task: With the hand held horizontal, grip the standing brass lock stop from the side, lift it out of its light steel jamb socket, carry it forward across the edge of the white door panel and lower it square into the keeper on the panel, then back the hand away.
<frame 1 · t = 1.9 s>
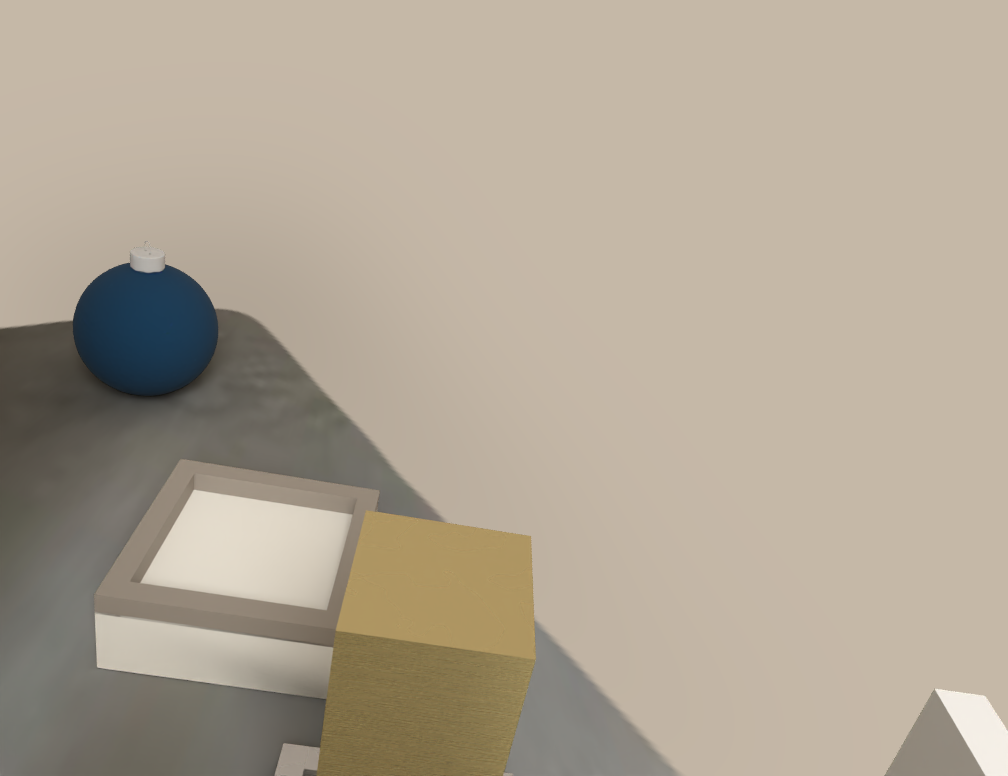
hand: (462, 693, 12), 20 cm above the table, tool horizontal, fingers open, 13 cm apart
lock stop: (408, 751, 26), in the jamb socket
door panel: (250, 602, 40), on the table
christmas ornament: (147, 389, 55), on the table
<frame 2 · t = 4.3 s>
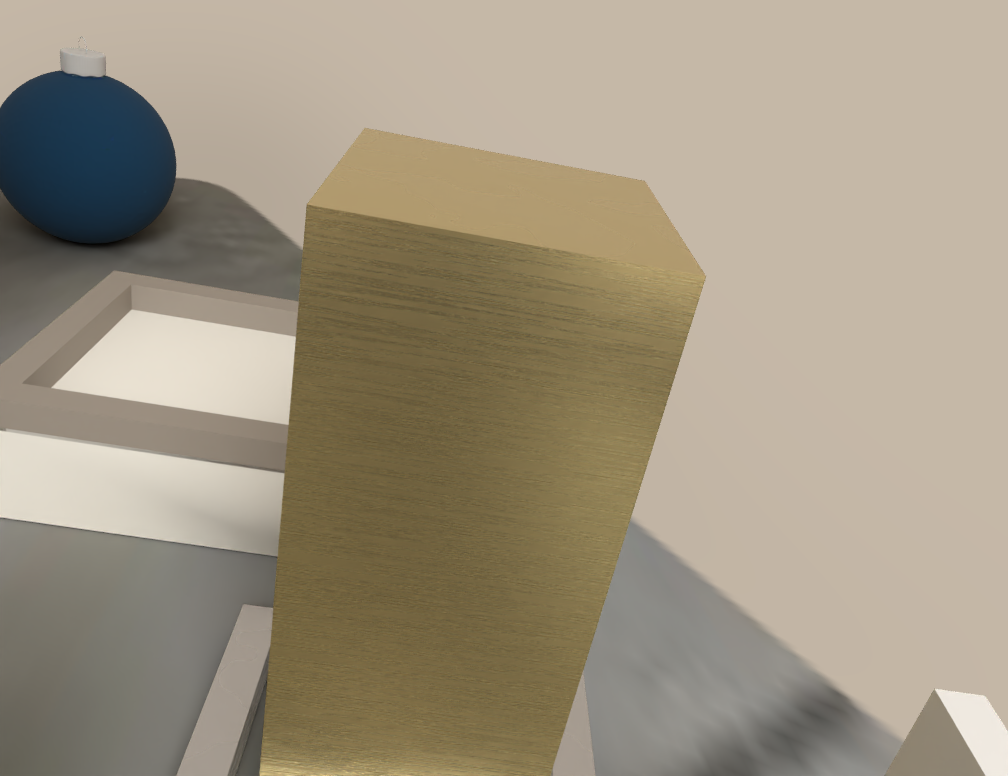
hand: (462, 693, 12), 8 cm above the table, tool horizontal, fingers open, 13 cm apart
lock stop: (438, 558, 16), in the jamb socket
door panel: (205, 450, 30), on the table
christmas ornament: (90, 242, 45), on the table
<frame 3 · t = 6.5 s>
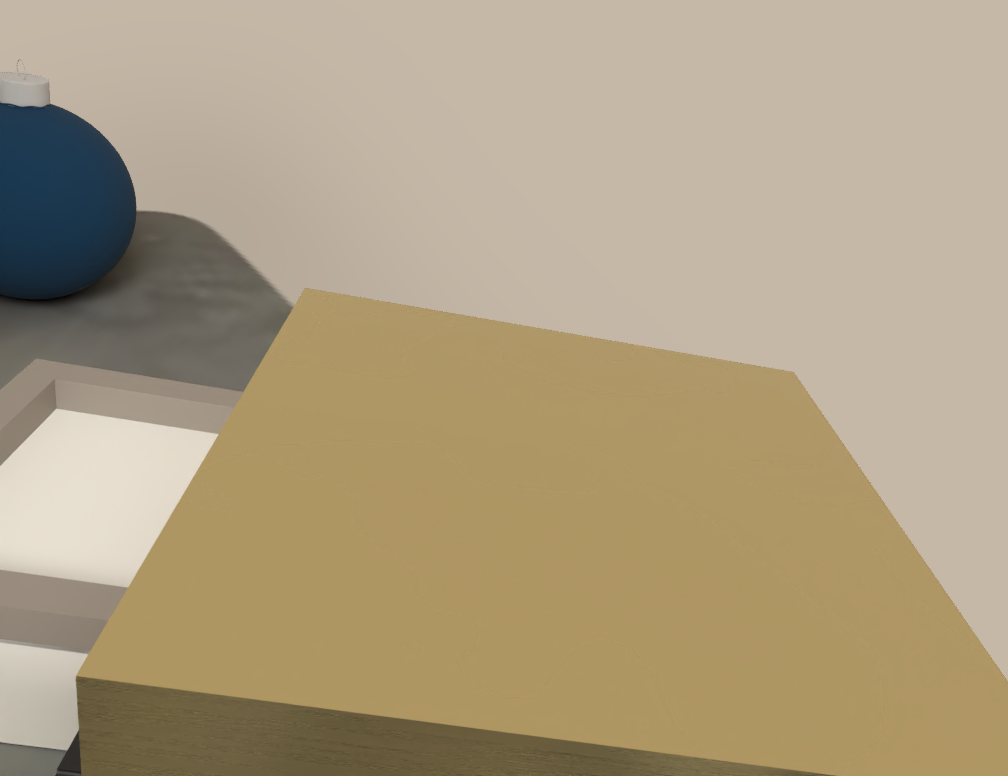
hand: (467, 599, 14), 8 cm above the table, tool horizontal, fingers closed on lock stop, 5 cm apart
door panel: (143, 596, 23), on the table
christmas ornament: (36, 295, 38), on the table
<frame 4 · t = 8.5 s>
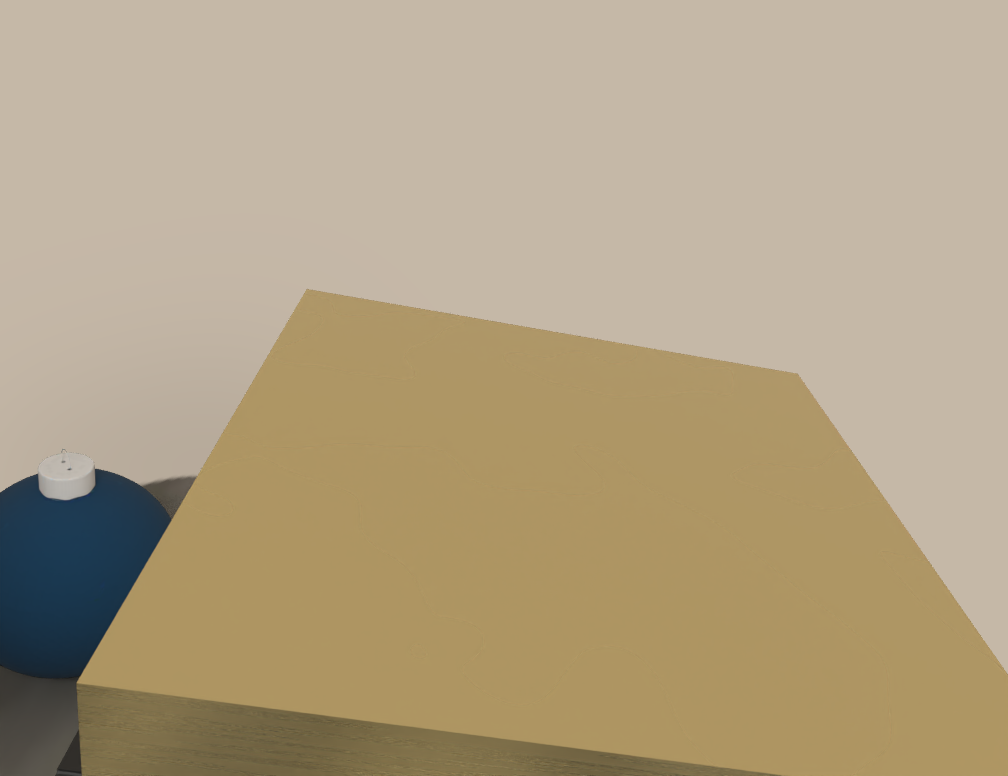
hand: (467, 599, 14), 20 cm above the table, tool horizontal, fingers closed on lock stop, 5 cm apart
christmas ornament: (77, 650, 37), on the table
when the fingers open (12 cm above the table, at t = 10.5 s): lock stop drops 1 cm, resting on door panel.
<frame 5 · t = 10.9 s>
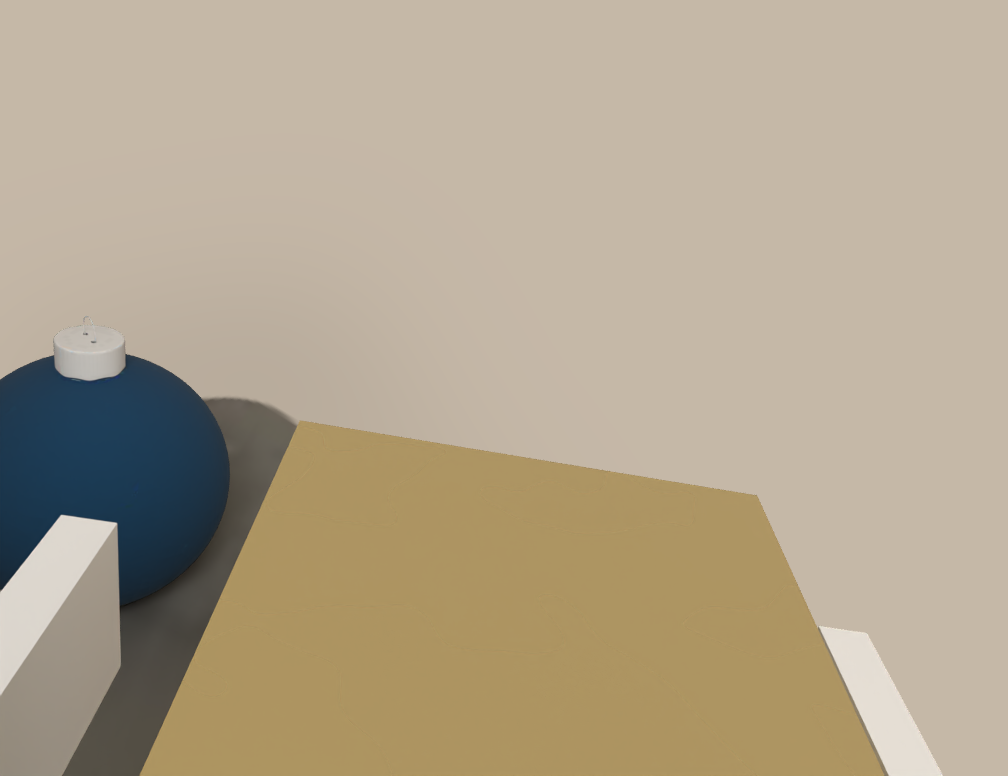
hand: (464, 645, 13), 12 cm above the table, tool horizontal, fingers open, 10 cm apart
christmas ornament: (99, 582, 30), on the table
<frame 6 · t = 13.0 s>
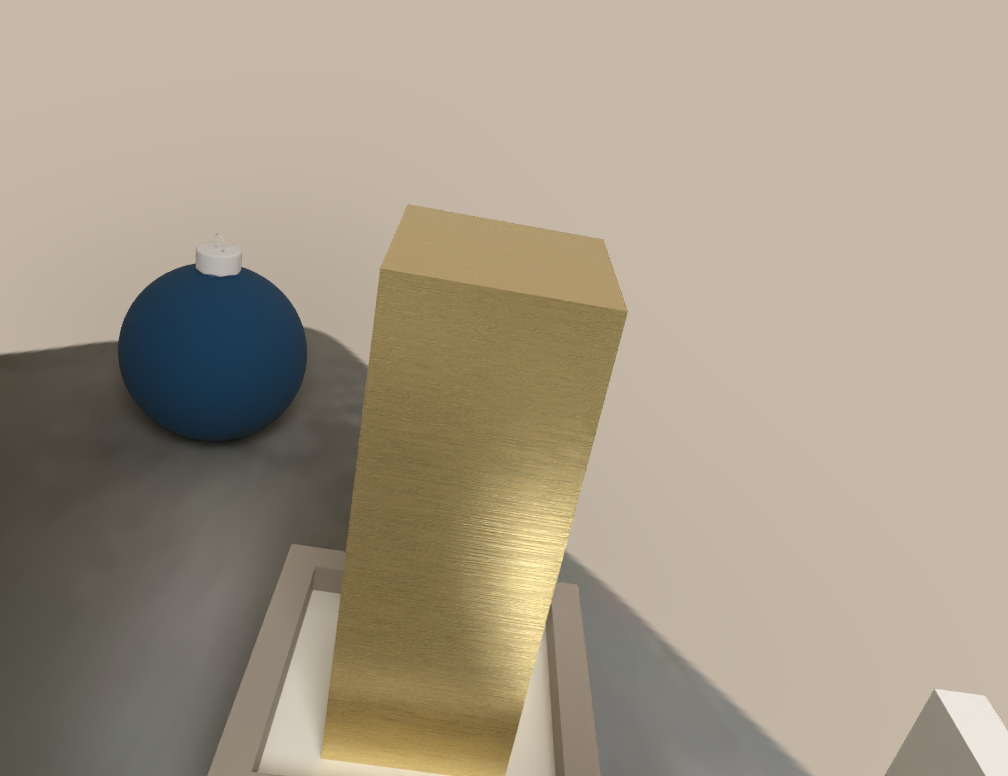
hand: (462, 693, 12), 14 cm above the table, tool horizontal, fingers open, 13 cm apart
lock stop: (457, 506, 22), in the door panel, point 10 cm above the table
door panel: (407, 765, 27), on the table
christmas ornament: (213, 432, 42), on the table
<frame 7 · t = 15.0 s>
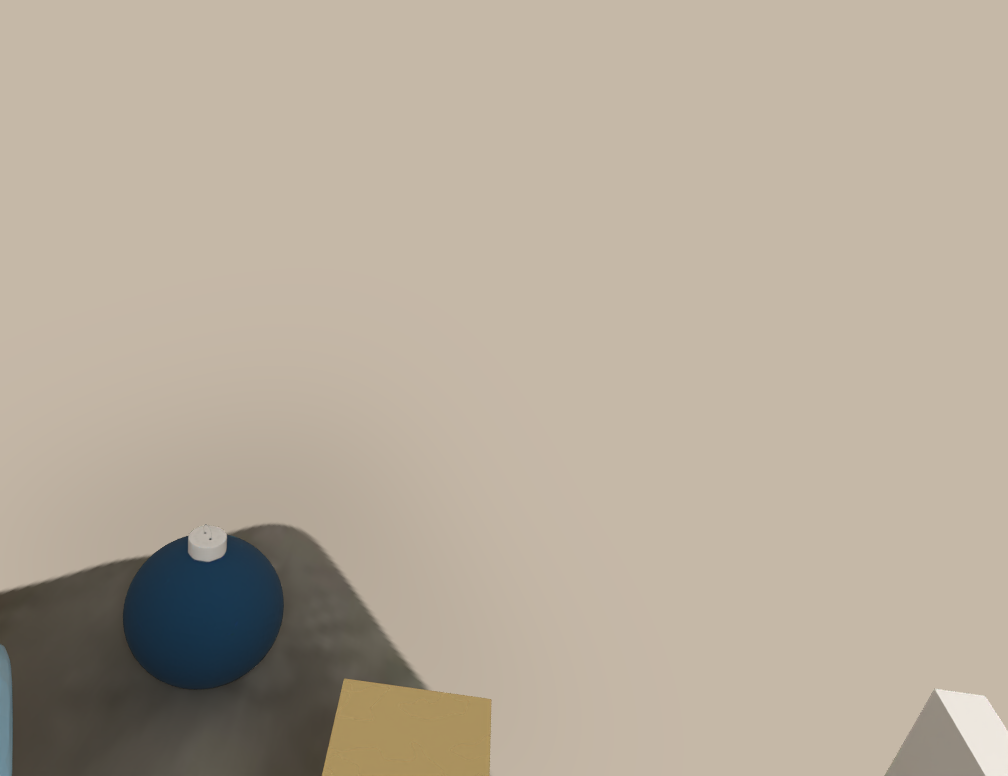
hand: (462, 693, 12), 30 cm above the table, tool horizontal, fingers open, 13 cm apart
christmas ornament: (204, 666, 49), on the table
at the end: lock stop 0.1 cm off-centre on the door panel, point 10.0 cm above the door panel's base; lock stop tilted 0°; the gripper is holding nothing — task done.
